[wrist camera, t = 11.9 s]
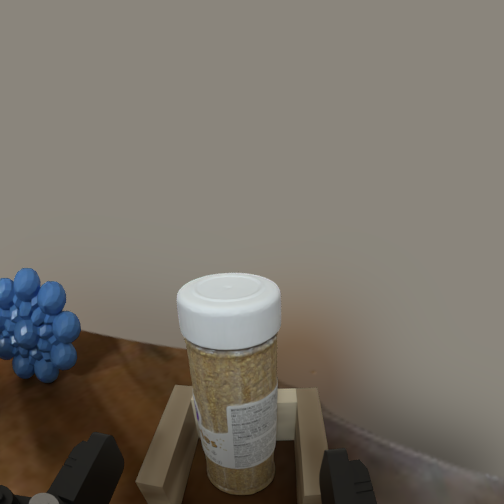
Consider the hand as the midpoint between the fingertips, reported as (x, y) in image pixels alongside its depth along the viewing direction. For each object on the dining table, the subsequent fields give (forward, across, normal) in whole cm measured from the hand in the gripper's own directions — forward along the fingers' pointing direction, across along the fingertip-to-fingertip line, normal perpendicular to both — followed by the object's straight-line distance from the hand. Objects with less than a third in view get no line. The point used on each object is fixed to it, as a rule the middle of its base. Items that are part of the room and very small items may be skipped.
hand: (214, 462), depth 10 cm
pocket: (+6, 0, +8) cm, 10 cm away
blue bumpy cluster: (+13, +20, +9) cm, 26 cm away
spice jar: (+5, 0, +9) cm, 10 cm away
